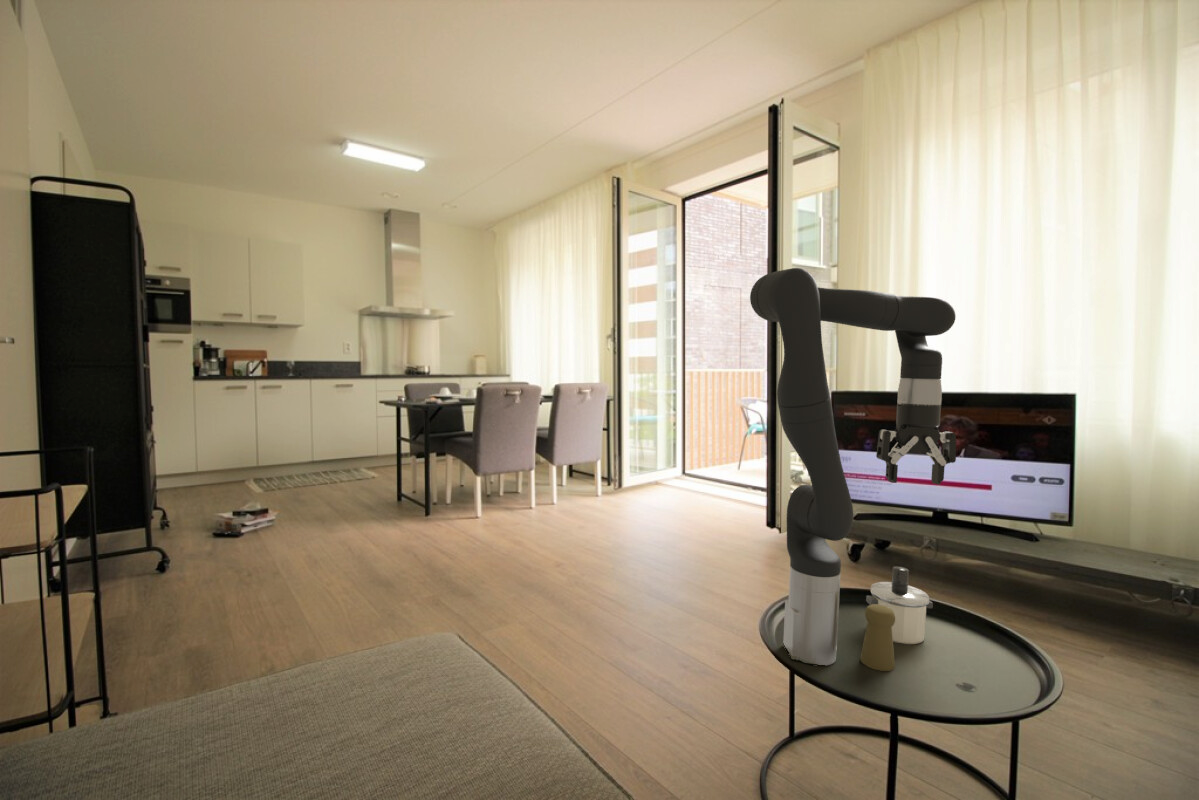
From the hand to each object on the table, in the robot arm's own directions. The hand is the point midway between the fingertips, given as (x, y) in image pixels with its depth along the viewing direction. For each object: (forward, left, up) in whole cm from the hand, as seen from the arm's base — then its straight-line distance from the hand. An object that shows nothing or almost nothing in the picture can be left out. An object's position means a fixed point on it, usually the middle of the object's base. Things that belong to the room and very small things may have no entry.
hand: (914, 482), depth 110 cm
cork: (-8, -6, -34) cm, 36 cm away
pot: (+2, +7, -34) cm, 35 cm away
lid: (+2, +7, -26) cm, 27 cm away
